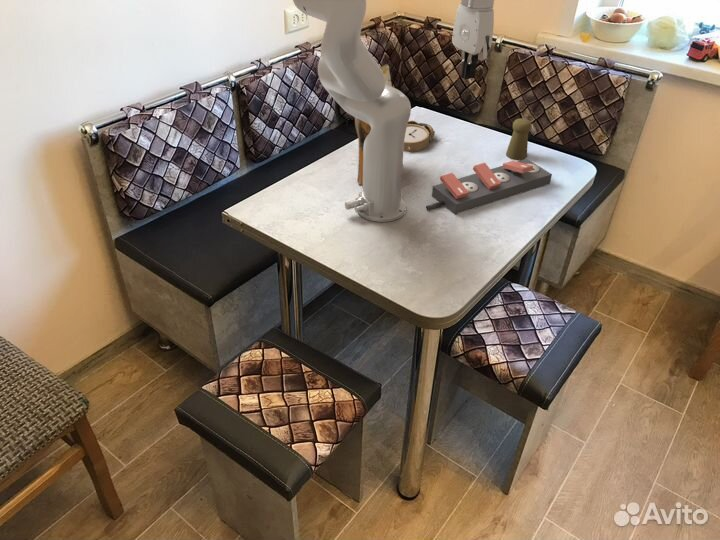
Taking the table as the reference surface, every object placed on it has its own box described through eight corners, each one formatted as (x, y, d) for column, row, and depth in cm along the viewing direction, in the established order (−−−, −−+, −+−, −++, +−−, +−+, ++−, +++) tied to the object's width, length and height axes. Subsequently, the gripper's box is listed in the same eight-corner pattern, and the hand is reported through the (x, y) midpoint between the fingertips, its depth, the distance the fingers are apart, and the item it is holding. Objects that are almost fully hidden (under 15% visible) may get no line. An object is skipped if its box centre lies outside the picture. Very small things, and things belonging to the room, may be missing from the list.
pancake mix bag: (342, 182, 166) (342, 81, 149) (383, 156, 179) (387, 59, 161) (362, 190, 163) (365, 87, 146) (402, 163, 175) (409, 65, 158)
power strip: (438, 219, 153) (439, 208, 151) (415, 200, 160) (416, 189, 157) (549, 183, 168) (552, 172, 165) (524, 168, 174) (526, 157, 172)
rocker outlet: (522, 176, 161) (522, 168, 161) (502, 170, 168) (502, 163, 167) (532, 173, 163) (532, 165, 162) (513, 167, 169) (513, 160, 168)
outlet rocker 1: (455, 201, 155) (457, 195, 153) (439, 181, 159) (440, 175, 157) (466, 197, 156) (469, 192, 155) (450, 178, 160) (452, 172, 158)
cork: (528, 160, 178) (536, 125, 171) (507, 160, 178) (514, 124, 171) (524, 150, 183) (531, 116, 176) (504, 150, 183) (510, 115, 176)
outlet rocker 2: (487, 191, 159) (490, 186, 158) (471, 171, 163) (474, 165, 161) (498, 188, 161) (501, 183, 159) (482, 167, 164) (485, 162, 162)
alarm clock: (383, 136, 183) (411, 111, 190) (384, 149, 186) (412, 125, 194) (414, 147, 177) (442, 122, 185) (415, 161, 181) (442, 135, 188)
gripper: (445, -6, 147) (438, 70, 158) (485, 10, 137) (474, 90, 148) (470, -9, 150) (461, 65, 161) (511, 6, 140) (498, 85, 151)
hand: (467, 77), depth 155 cm, fingers closed
